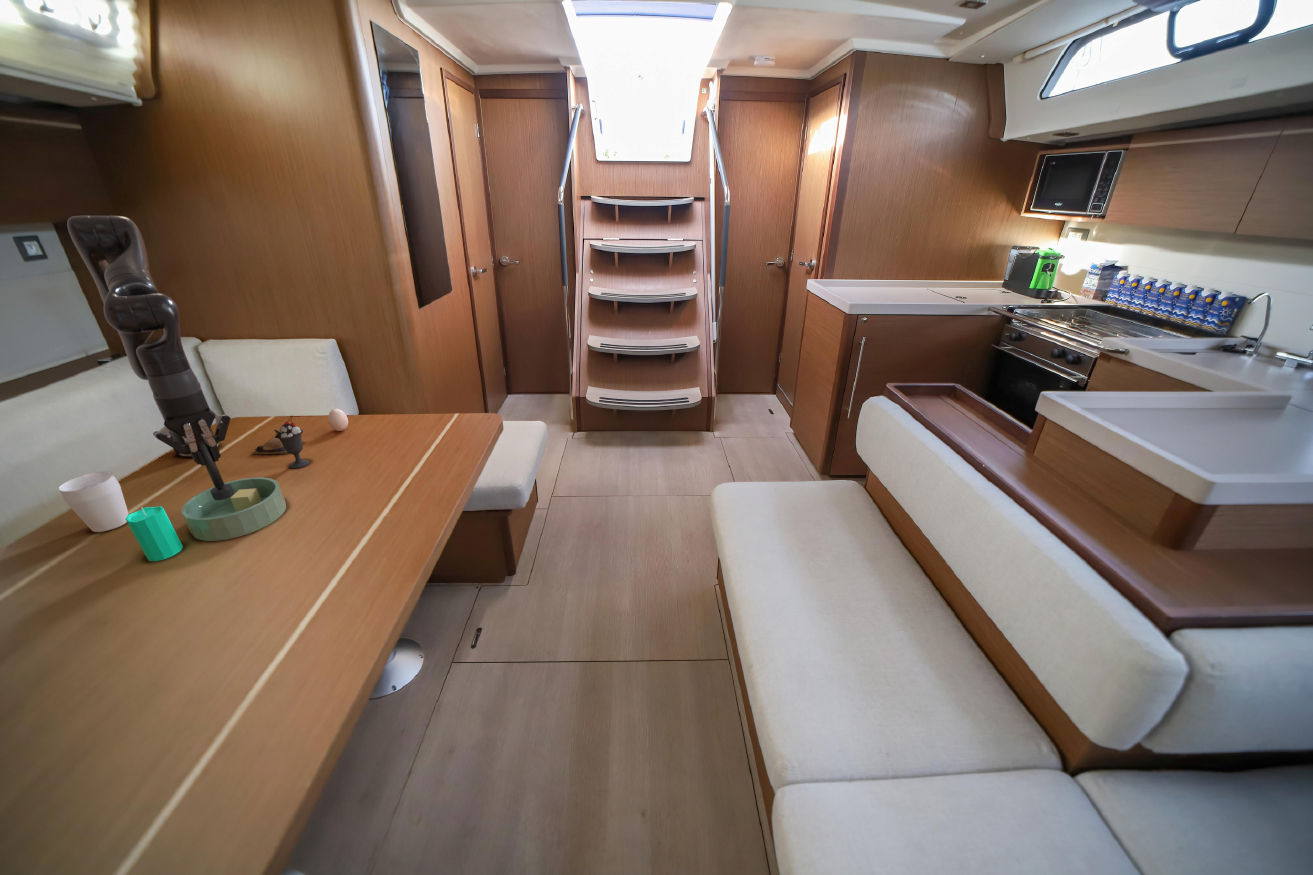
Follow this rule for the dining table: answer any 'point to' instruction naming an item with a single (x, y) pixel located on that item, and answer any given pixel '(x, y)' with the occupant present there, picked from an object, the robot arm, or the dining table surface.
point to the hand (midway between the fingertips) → (209, 462)
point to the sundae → (292, 442)
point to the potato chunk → (245, 499)
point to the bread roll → (271, 447)
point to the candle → (154, 533)
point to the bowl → (233, 511)
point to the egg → (338, 420)
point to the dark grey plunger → (215, 475)
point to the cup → (96, 500)
